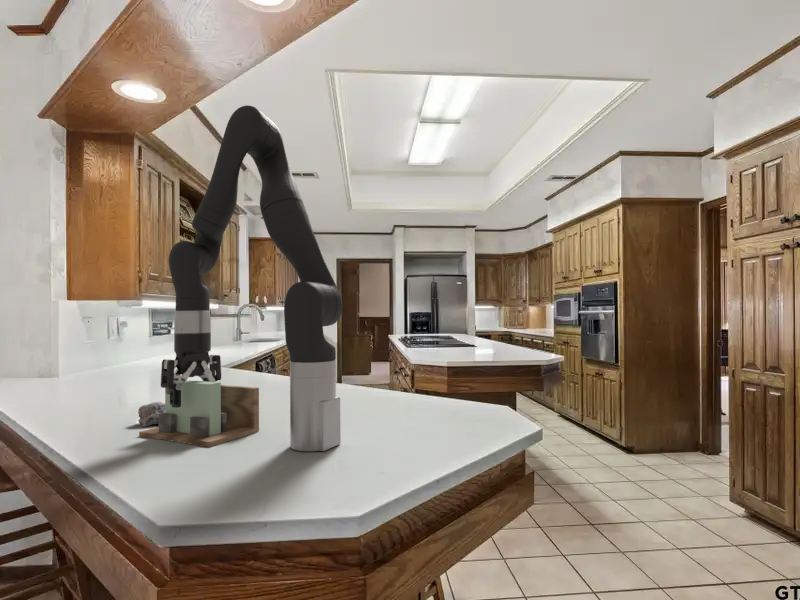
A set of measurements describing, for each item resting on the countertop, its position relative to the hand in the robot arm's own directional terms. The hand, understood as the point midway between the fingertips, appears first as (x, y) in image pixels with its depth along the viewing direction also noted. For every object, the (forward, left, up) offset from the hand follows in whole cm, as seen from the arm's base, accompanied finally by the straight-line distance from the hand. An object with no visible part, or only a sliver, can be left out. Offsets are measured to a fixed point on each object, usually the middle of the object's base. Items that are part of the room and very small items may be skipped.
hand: (192, 403), depth 104 cm
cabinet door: (0, 0, -6) cm, 6 cm away
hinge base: (0, -2, -7) cm, 7 cm away
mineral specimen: (+20, -6, -7) cm, 22 cm away
